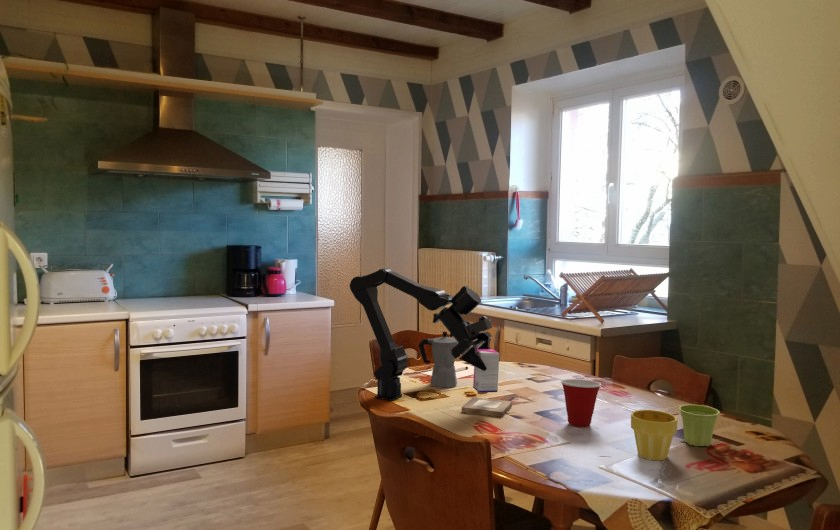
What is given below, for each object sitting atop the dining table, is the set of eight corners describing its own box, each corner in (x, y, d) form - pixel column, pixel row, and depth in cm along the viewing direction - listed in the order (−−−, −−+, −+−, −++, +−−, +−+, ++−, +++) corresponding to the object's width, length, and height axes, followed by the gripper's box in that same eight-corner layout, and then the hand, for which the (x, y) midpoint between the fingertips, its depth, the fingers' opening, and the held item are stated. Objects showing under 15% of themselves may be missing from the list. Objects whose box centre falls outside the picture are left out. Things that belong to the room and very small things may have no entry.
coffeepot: (458, 380, 229) (460, 328, 228) (466, 387, 220) (468, 333, 219) (414, 382, 226) (416, 329, 225) (421, 389, 217) (422, 334, 216)
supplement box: (498, 392, 190) (499, 352, 189) (478, 393, 189) (479, 353, 188) (491, 386, 196) (493, 348, 195) (472, 387, 194) (473, 348, 193)
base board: (461, 412, 192) (461, 406, 192) (473, 401, 203) (473, 396, 203) (502, 417, 188) (502, 411, 187) (512, 406, 199) (512, 401, 199)
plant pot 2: (714, 452, 162) (716, 417, 162) (674, 444, 167) (675, 410, 167) (720, 441, 170) (722, 408, 170) (681, 434, 175) (683, 402, 175)
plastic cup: (601, 421, 186) (602, 378, 185) (598, 432, 176) (600, 387, 175) (561, 416, 190) (563, 374, 189) (556, 427, 179) (558, 383, 179)
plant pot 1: (650, 466, 152) (652, 424, 152) (620, 451, 162) (622, 411, 161) (685, 460, 156) (687, 419, 156) (653, 446, 166) (655, 407, 165)
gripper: (463, 311, 184) (499, 355, 180) (486, 304, 201) (520, 344, 197) (436, 336, 188) (471, 380, 184) (461, 327, 205) (494, 367, 201)
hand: (490, 367), depth 191 cm, fingers closed on supplement box, 8 cm apart
